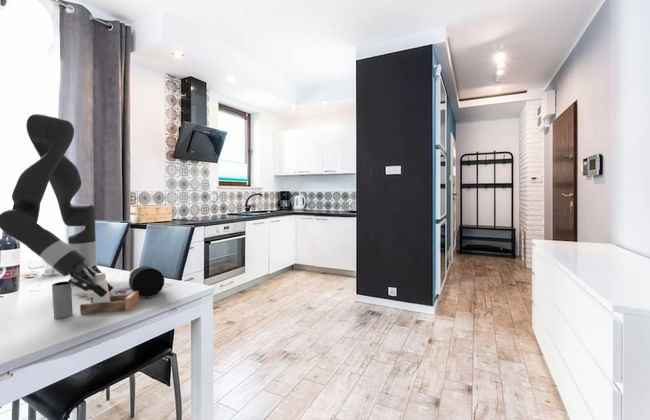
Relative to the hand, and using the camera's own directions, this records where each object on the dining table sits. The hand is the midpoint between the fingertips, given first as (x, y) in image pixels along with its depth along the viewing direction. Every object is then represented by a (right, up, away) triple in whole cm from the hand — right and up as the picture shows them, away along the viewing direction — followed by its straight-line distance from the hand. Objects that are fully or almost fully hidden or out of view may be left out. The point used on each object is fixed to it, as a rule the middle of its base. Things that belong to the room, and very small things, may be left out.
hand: (107, 292), depth 105 cm
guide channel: (+1, -5, +1) cm, 5 cm away
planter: (-10, -6, -6) cm, 13 cm away
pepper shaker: (-2, -5, 0) cm, 5 cm away
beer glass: (-57, -3, +46) cm, 73 cm away
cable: (-1, -4, +22) cm, 23 cm away
